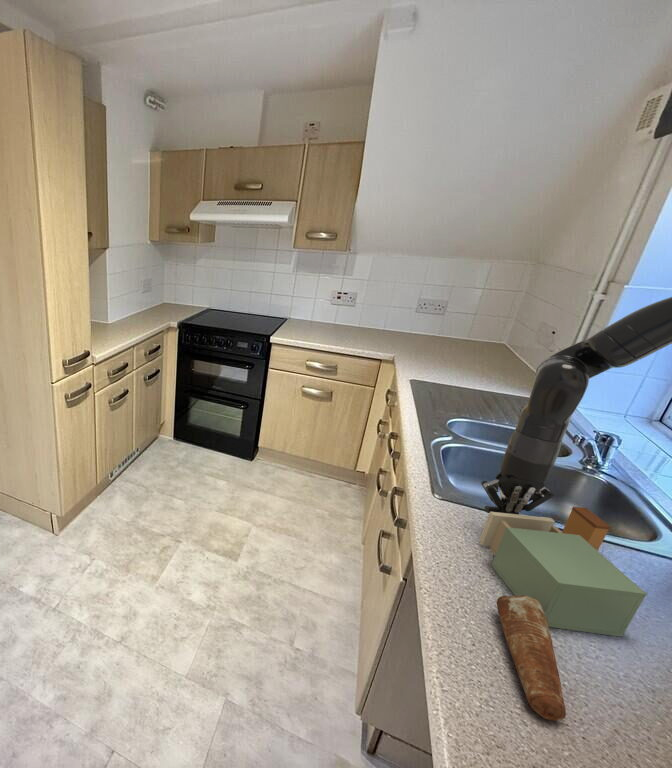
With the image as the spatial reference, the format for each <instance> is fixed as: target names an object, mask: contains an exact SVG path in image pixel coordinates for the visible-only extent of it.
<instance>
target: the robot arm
mask: <svg viewBox="0 0 672 768" xmlns="http://www.w3.org/2000/svg"><path fill="white" fill-rule="evenodd" d="M671 344H672V296H670V297H667V298H664V299H661V300H658V301H656V302H653V303H651V304H648V305H645V306H643V307H641V308H639V309H637V310H635V311H633V312H631V313H629V314H628V315H627V314H626V315H625V316H623V317H622V318H620V319H619V320H617V321H615V322H613V323H612V324H610V325H608V326H606V327H604V328H603V329H601V330H600V331H599V330H598V332H595V334H593V335H592V336H589V337H588V338H586V339H583V340H582V341H581V340H580V341H579V342H576V343H575V344H572V345H570V346H568V347H565V348H563V349H561V350H559V351H557V352H556V353H553V354H551V355H550V356H549V357H547V358H545V359H544V360H542V362H540V363H539V364H538V365H537V367H536V370H535V378H534V384H533V387H532V389H531V393H530V395H529V399H528V402H527V404H526V405H524V407H523V409H522V411H521V413H520V416H519V418H518V421H517V424H516V427H515V429H514V431H513V432H512V434H511V436H510V438H509V441H508V444H507V446H506V449H505V452H504V454H503V457H502V460H501V463H500V471H499V473H497V474H496V476H495V479H493V480H490V481H488V480H483V481H481V482H480V483H481V486H482V488H483V490H484V491H485V493H486V494H487V496H488V498H489V499H490V502H492V503H493V504H494V506H495V507H498V508H499V509H498V512H499V513H509V514H518V513H519V514H520V513H521V512H522V511H525V512H531V511H532V510H534V509H535V508H537V507H539V506H541V505H542V504H543V503H545V502H547V501H548V500H550V499H552V498H554V493H553V492H552V491H551V490H549V489H548V488H547V487H546V482H547V481H548V480H549V478H550V475H551V473H552V470H553V468H554V466H555V464H556V461H557V459H558V456H559V454H560V451H561V446H562V442H563V440H564V437H565V434H566V432H567V430H568V427H569V425H570V423H571V422H570V421H571V418H572V416H573V415H574V413H575V411H576V410H577V408H578V407H579V405H580V403H581V402H582V400H583V398H584V395H585V394H586V391H587V390H588V386H589V383H590V380H591V379H592V378H594V377H597V376H599V375H600V374H603V373H604V372H606V371H609V370H611V369H614V368H615V369H620V368H624V367H627V366H630V365H632V364H634V363H636V362H638V361H640V360H642V359H645V358H647V357H648V356H650V355H652V354H654V353H656V352H658V351H660V350H662V349H664V348H665V347H668V346H669V345H671ZM499 489H500V491H499ZM498 493H499V494H498Z"/></svg>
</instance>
